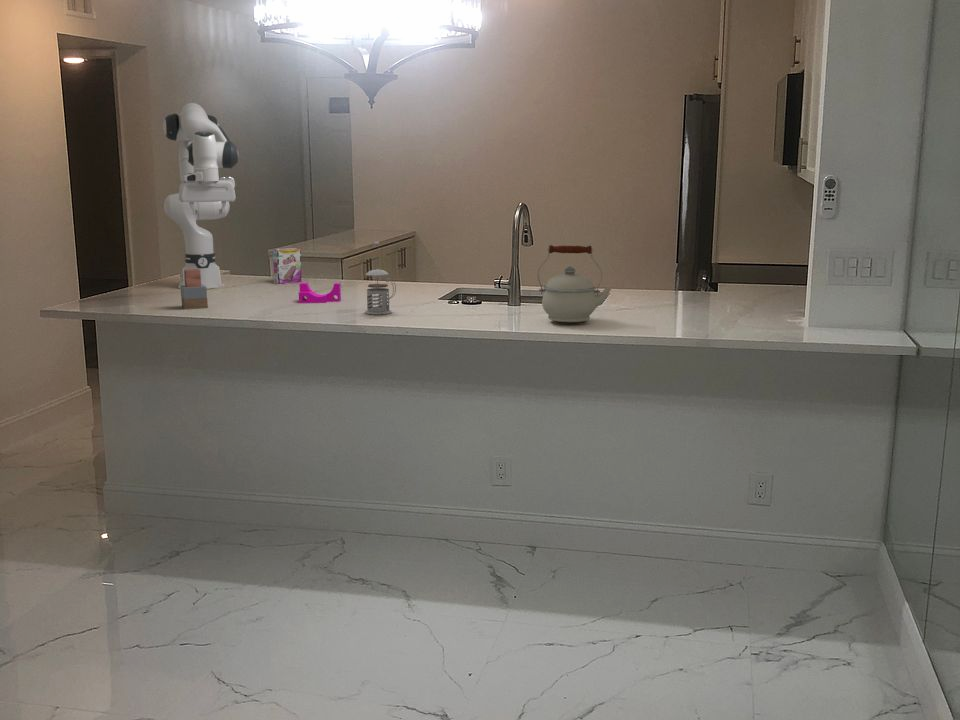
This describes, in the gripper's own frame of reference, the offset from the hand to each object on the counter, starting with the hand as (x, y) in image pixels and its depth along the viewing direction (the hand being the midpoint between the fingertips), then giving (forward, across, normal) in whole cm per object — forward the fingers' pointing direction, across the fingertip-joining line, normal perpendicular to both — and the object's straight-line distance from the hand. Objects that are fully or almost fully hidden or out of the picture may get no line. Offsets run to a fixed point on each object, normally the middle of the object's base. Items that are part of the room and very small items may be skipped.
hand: (208, 214), depth 351 cm
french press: (+33, -49, +51) cm, 78 cm away
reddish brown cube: (+25, +9, +10) cm, 29 cm away
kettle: (+33, -103, +93) cm, 143 cm away
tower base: (+33, +8, +10) cm, 36 cm away
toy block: (+34, -36, +19) cm, 53 cm away
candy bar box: (+33, -37, -33) cm, 60 cm away
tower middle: (+29, +9, +10) cm, 32 cm away
